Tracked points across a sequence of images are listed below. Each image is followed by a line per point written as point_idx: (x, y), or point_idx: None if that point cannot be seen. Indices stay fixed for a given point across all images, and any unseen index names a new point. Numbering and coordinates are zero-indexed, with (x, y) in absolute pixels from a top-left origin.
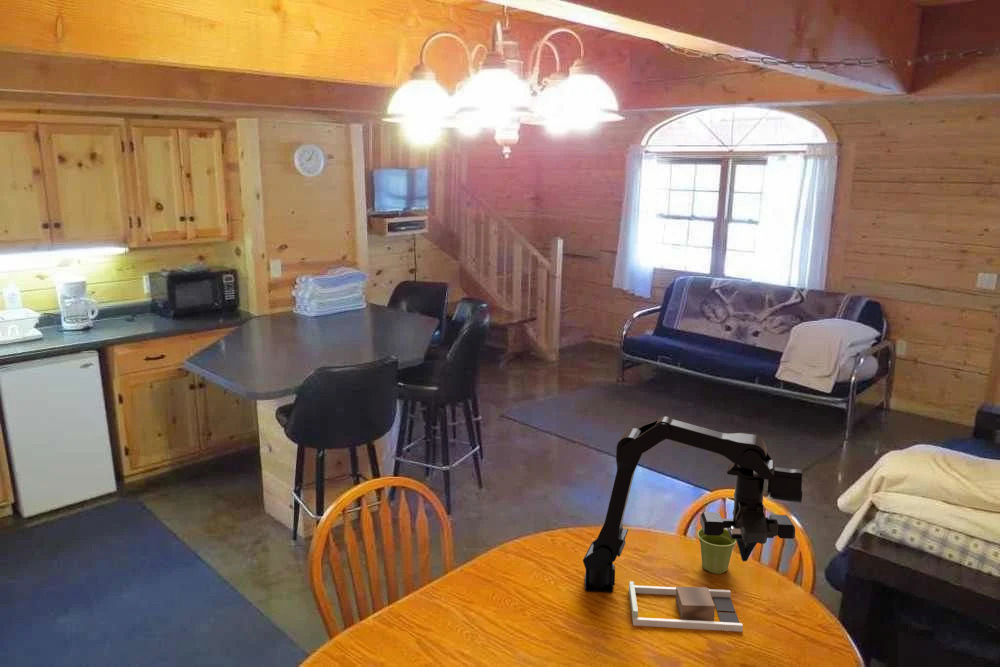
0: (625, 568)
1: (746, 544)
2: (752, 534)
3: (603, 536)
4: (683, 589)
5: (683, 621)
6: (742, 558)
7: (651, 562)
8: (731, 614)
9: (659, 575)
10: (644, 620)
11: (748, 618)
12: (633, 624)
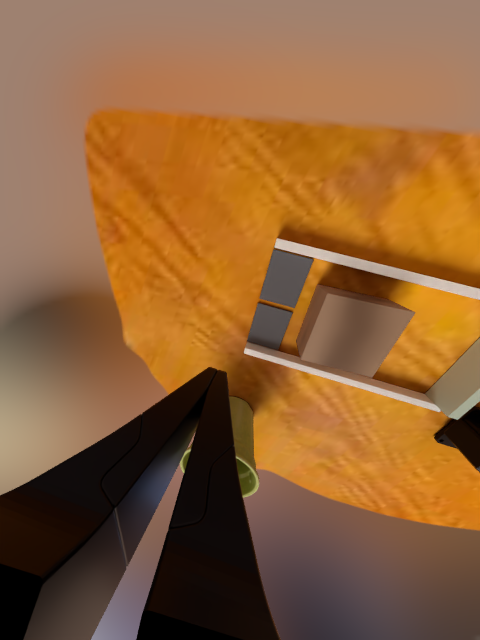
0: (384, 446)
1: (163, 472)
2: None
3: None
4: (362, 365)
5: (416, 276)
6: (225, 382)
7: (327, 444)
8: (270, 296)
9: (336, 418)
10: None
11: (242, 280)
12: None
